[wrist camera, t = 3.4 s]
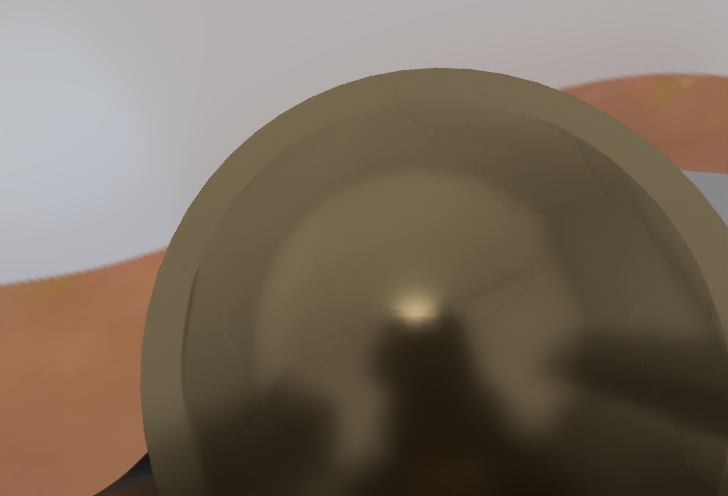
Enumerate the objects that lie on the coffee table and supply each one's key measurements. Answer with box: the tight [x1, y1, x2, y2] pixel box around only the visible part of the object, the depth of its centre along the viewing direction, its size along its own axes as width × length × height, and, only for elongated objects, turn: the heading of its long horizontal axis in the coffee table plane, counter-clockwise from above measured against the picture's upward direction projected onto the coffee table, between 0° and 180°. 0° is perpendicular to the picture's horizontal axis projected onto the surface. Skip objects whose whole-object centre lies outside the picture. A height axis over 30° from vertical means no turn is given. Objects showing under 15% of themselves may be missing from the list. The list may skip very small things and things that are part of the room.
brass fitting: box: [140, 68, 728, 496], centre depth 9 cm, size 6×6×13 cm
